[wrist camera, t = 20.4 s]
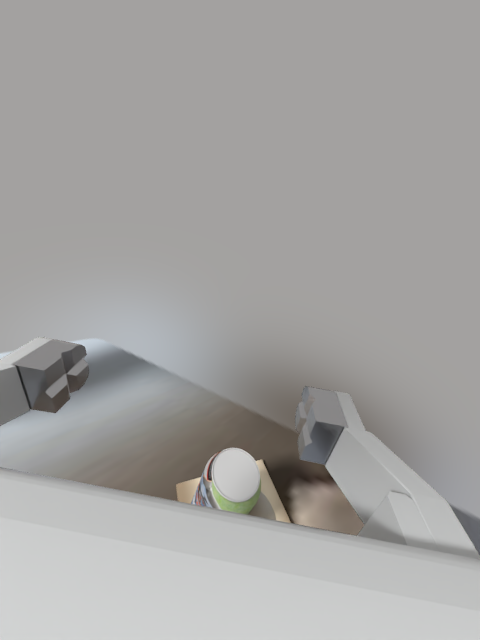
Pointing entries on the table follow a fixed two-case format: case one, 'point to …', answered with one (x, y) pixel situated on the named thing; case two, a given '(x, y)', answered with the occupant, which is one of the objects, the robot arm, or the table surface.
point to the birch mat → (264, 507)
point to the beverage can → (229, 482)
